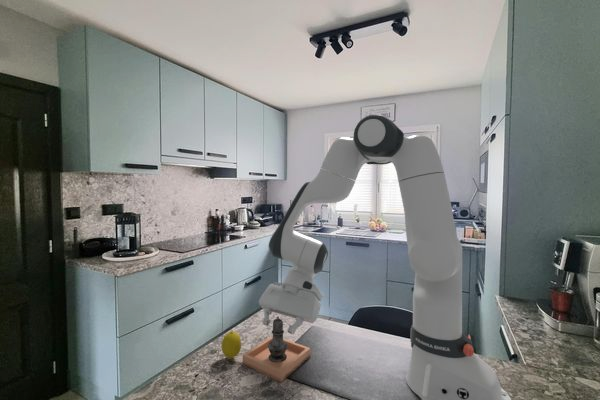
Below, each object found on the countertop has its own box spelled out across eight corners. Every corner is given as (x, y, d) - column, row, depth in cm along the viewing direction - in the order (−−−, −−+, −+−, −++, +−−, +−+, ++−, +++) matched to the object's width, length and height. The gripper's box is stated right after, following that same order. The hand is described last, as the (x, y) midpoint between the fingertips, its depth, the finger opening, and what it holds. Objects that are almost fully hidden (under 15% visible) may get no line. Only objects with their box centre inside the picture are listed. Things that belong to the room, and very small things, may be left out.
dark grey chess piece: (287, 363, 76) (287, 320, 76) (266, 363, 76) (266, 320, 76) (288, 351, 82) (288, 312, 82) (268, 351, 82) (269, 311, 82)
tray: (310, 356, 81) (310, 348, 81) (281, 382, 69) (281, 372, 69) (274, 342, 89) (274, 335, 89) (242, 363, 77) (242, 354, 77)
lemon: (236, 365, 76) (236, 336, 76) (218, 362, 78) (218, 334, 78) (244, 354, 82) (244, 327, 82) (227, 352, 83) (227, 326, 83)
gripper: (267, 275, 91) (246, 315, 83) (320, 286, 80) (301, 333, 71) (275, 285, 95) (256, 324, 86) (327, 297, 83) (310, 343, 75)
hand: (277, 328), depth 79 cm, fingers open, 8 cm apart
